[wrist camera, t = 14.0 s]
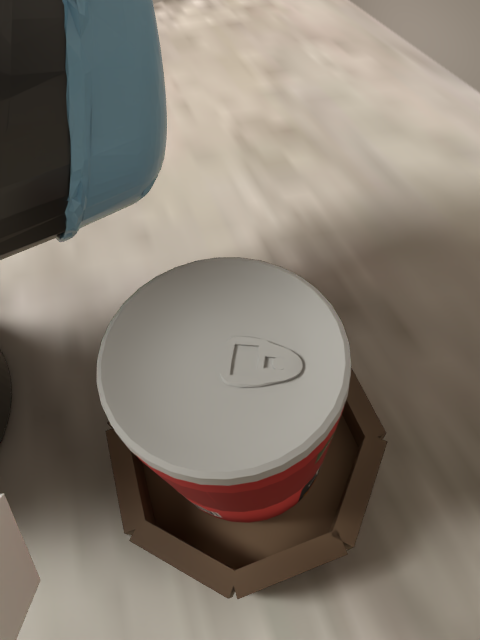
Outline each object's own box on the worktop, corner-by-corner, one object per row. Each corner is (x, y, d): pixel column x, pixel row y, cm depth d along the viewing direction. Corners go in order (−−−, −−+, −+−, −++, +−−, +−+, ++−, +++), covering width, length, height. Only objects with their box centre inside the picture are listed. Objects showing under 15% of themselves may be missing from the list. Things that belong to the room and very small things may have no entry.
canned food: (338, 512, 21) (386, 458, 11) (173, 536, 21) (85, 502, 11) (305, 367, 25) (321, 238, 15) (166, 388, 25) (97, 271, 15)
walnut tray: (83, 508, 23) (58, 499, 20) (199, 316, 28) (192, 290, 26) (314, 643, 19) (320, 652, 17) (396, 392, 25) (409, 370, 22)
